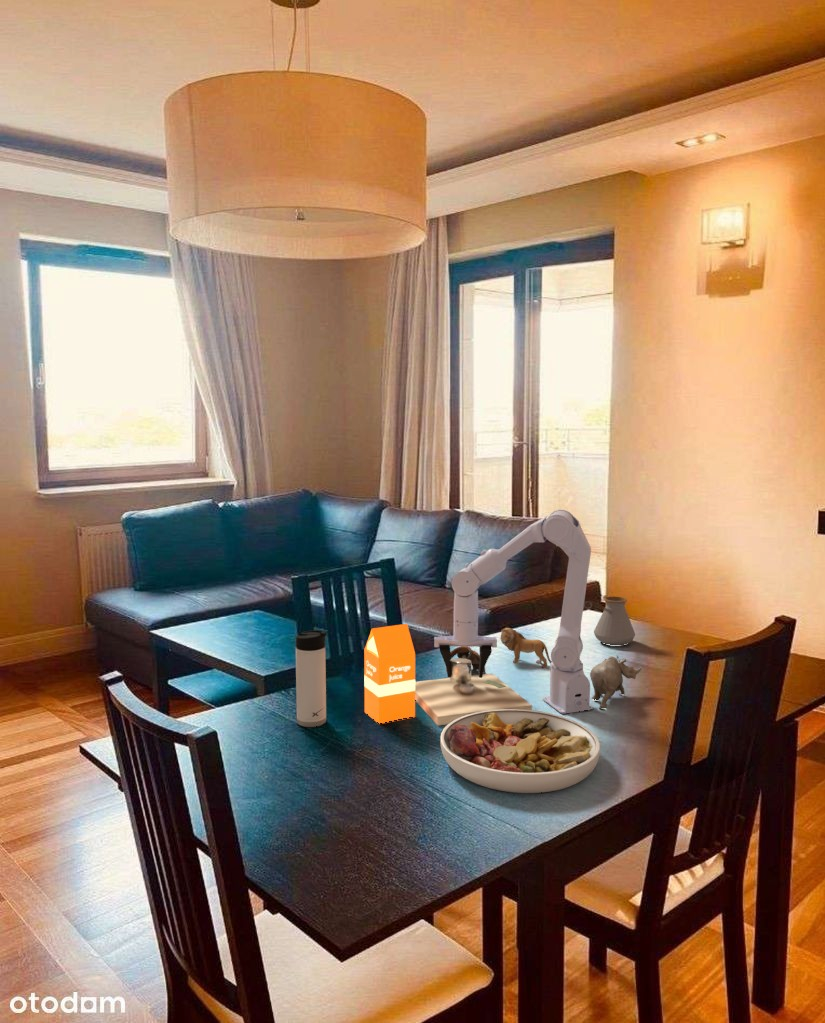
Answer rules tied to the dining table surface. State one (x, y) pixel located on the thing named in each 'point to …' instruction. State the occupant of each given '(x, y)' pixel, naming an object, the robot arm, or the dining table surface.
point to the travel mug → (311, 678)
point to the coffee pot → (613, 622)
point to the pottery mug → (467, 656)
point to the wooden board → (465, 698)
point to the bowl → (520, 750)
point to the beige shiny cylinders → (462, 674)
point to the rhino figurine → (610, 678)
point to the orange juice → (389, 674)
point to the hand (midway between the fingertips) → (464, 676)
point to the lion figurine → (523, 645)
